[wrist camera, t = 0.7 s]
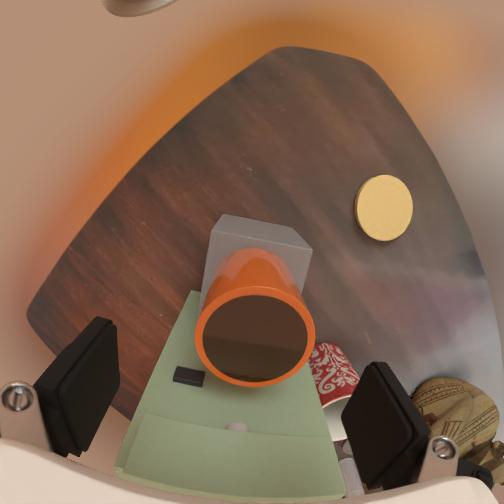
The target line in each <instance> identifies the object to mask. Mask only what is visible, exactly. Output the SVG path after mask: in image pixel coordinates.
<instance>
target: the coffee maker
mask: <svg viewBox="0 0 504 504" xmlns="http://www.w3.org/2000/svg"><path fill="white" fill-rule="evenodd" d="M248 248H257V249H263V250H267V251H269V252H272V253H274V254H275V255H277V256H278V257H280V258H281V259H282V260H283V261H284V262H285V263H286V265H287V266H288V267H289V269H290V271H291V273H292V275H293V278H294V280H295V282H296V284H297V286H298V288H299V291H300V293H301V294H302V290H303V287H304V283H305V279H306V276H307V272H308V268H309V264H310V260H311V257H312V253H313V249H312V248H311V247H310V246H309V245H308V244H307V243H306V242H305V241H304V240H303V239H302V238H301V236H300V235H299V234H298V233H297V232H296V231H295V230H294V229H293V228H292V227H288V226H283V225H278V224H273V223H268V222H263V221H258V220H253V219H248V218H243V217H238V216H233V215H228V214H223V215H222V216H221V217H220V219H219V220H218V222H217V223H216V224H215V226H214V227H213V228H212V230H211V234H210V239H209V245H208V251H207V257H206V263H205V270H204V276H203V282H202V289H201V292H199V291H194V290H191V292H190V294H189V296H188V298H187V300H186V302H185V304H184V306H183V308H182V310H181V312H180V314H179V317H178V319H177V321H176V323H175V325H174V327H173V329H172V331H171V333H170V336H169V338H168V340H167V342H166V344H165V346H164V349H163V351H162V353H161V355H160V357H159V359H158V362H157V364H156V366H155V368H154V371H153V373H152V375H151V377H150V380H149V382H148V384H147V386H146V389H145V391H144V393H143V396H142V398H141V400H140V402H139V405H138V407H137V409H136V412H135V414H134V417H133V419H132V421H131V424H130V426H129V428H128V431H127V434H126V436H125V438H124V441H123V443H122V446H121V448H120V451H119V453H118V456H117V458H116V461H115V463H114V467H115V471H116V474H117V476H118V478H121V479H124V480H127V481H130V482H134V483H137V484H141V485H144V486H148V487H152V488H156V489H160V490H164V491H169V492H173V493H178V494H184V495H189V496H195V497H202V498H209V499H217V500H226V501H237V502H254V503H296V502H313V501H325V500H334V499H341V498H342V497H343V496H344V495H345V494H346V492H345V491H346V486H345V483H344V479H343V476H342V472H341V469H340V465H339V462H338V458H337V455H336V452H335V448H334V445H333V441H332V438H331V435H330V431H329V428H328V425H327V421H326V418H325V415H324V412H323V408H322V405H321V402H320V398H319V395H318V392H317V389H316V386H315V382H314V379H313V376H312V373H311V370H310V366H309V363H308V360H307V362H306V363H305V364H304V366H303V367H302V368H301V369H300V370H299V371H298V372H296V373H295V374H294V375H292V376H291V377H289V378H288V379H286V380H284V381H281V382H279V383H276V384H273V385H269V386H262V387H245V386H239V385H235V384H232V383H229V382H227V381H225V380H223V379H221V378H219V377H217V376H216V375H215V374H213V373H212V372H211V371H210V370H209V369H208V368H207V367H206V366H205V365H204V363H203V362H202V360H201V359H200V357H199V355H198V353H197V350H196V346H195V339H194V337H195V328H196V324H197V321H198V318H199V315H200V312H201V309H202V306H203V303H204V300H205V297H206V294H207V291H208V288H209V286H210V283H211V280H212V277H213V274H214V272H215V270H216V268H217V266H218V265H219V264H220V263H221V261H222V260H224V259H225V258H226V257H227V256H229V255H230V254H232V253H234V252H236V251H239V250H242V249H248Z"/></svg>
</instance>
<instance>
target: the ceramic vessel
mask: <svg viewBox="0 0 504 504" xmlns="http://www.w3.org/2000/svg"><path fill="white" fill-rule="evenodd" d="M412 402H413V403H414V405H415V406H416V408H417V409H418V411H419V413H420V414H421V416H422V417H423V419H424V420H425V422H426V424H427V425H428V427H429V428H430V430H431V433H430V434H429V436H428V437H429V439H431V438H432V437H433V436H436V435H444V436H447V437H449V438H451V439H452V440H453V441H454V442H455V443H456V444H457V446H458V449H459V457H460V458H463V459H465V460H468V461H470V462H473V463H475V464H478V465H481V466H483V467H485V468H487V469H489V470H490V472H491V474H492V476H493V483H494V482H495V481H496V482H497V483H499V484H500V485H502V486H504V458H503V456H504V444H503V443H502V442H501V441H495V442H494V443H493V442H492V440H493V438H494V437H495V435H496V431H497V428H498V424H499V412H498V409H497V407H496V405H495V403H494V402H493V401H492V399H491V398H490V397H489V396H488V395H487V394H486V393H484V392H483V391H482V390H480V389H479V388H477V387H475V386H474V385H472V384H470V383H468V382H465V381H463V380H460V379H457V378H448V377H437V378H433V379H430V380H427V381H425V382H424V383H423V384H421V385H420V387H419V388H418V389H417V391H416V392H415V394H414V396H413V398H412Z"/></svg>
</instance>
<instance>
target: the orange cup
mask: <svg viewBox="0 0 504 504" xmlns="http://www.w3.org/2000/svg"><path fill="white" fill-rule="evenodd" d="M194 339H195V346H196V350H197V353H198V355H199V357H200V359H201V360H202V362H203V363H204V365H205V366H206V367H207V368H208V369H209V370H210V371H211V372H212V373H213V374H215V375H216V376H217V377H219V378H221V379H223V380H225V381H227V382H229V383H232V384H235V385H239V386H245V387H262V386H269V385H273V384H276V383H279V382H281V381H284V380H286V379H288V378H289V377H291V376H292V375H294V374H295V373H296V372H298V371H299V370H300V369H301V368H302V367H303V366H304V364H305V363H306V362H307V360H308V359H309V357H310V355H311V353H312V351H313V348H314V344H315V326H314V322H313V320H312V317H311V315H310V313H309V310H308V308H307V306H306V304H305V302H304V299H303V297H302V295H301V293H300V291H299V288H298V286H297V284H296V282H295V280H294V278H293V275H292V273H291V271H290V269H289V267H288V266H287V265H286V263H285V262H284V261H283V260H282V259H281V258H280V257H278V256H277V255H275V254H274V253H272V252H269V251H267V250H263V249H257V248H248V249H242V250H239V251H236V252H234V253H232V254H230V255H229V256H227V257H226V258H225V259H224V260H222V261H221V263H220V264H219V265H218V266H217V268H216V270H215V272H214V274H213V277H212V280H211V283H210V286H209V288H208V291H207V294H206V297H205V300H204V303H203V306H202V309H201V312H200V315H199V318H198V321H197V324H196V328H195V337H194Z"/></svg>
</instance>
